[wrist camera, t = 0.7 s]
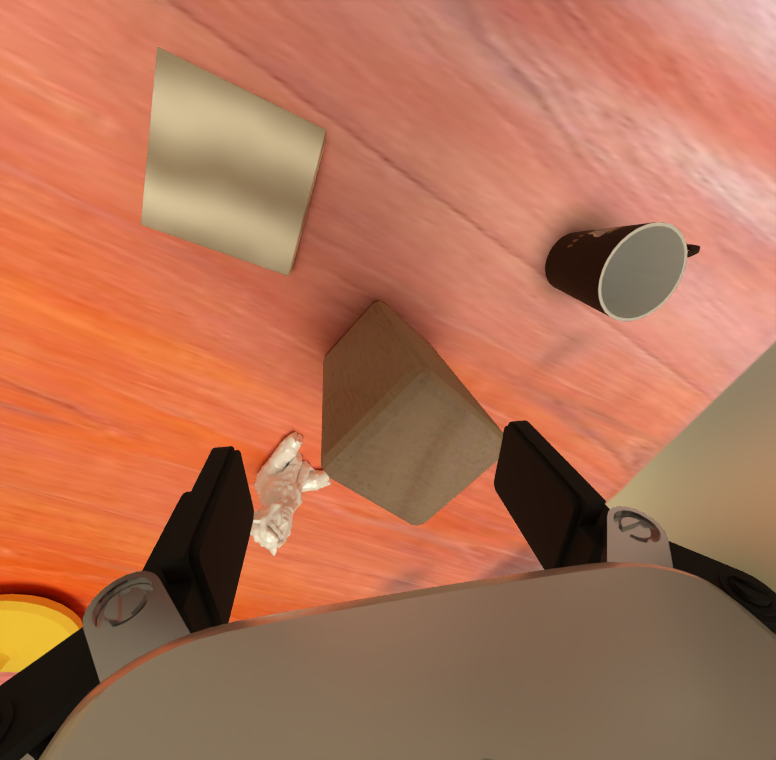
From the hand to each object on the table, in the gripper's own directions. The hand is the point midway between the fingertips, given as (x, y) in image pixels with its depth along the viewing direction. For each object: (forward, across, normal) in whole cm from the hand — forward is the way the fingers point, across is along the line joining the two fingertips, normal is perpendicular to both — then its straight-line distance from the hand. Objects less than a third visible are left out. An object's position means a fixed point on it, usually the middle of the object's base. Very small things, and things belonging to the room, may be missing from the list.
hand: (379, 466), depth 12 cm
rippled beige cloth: (+28, +9, -11) cm, 31 cm away
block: (+28, -4, +7) cm, 29 cm away
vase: (+28, +48, +45) cm, 71 cm away
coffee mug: (+28, -28, -3) cm, 40 cm away
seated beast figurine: (+28, +8, +22) cm, 37 cm away
